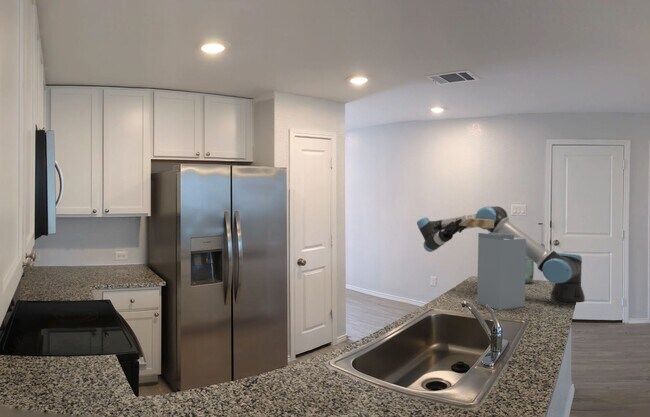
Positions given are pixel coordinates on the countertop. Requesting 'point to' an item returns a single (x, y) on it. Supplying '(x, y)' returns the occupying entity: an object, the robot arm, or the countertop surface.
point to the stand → (501, 270)
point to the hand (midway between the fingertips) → (469, 217)
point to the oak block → (478, 223)
